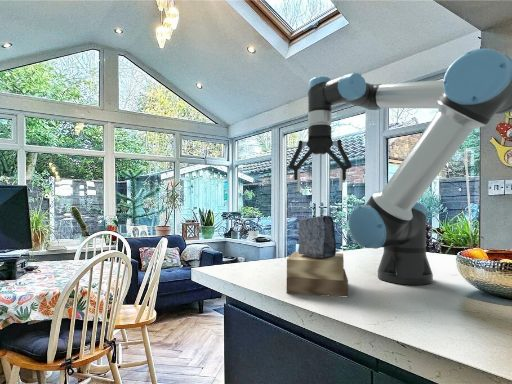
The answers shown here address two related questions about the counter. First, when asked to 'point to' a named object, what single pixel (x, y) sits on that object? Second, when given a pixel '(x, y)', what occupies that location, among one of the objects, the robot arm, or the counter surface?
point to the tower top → (315, 267)
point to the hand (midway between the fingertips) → (319, 190)
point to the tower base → (317, 286)
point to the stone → (317, 237)
